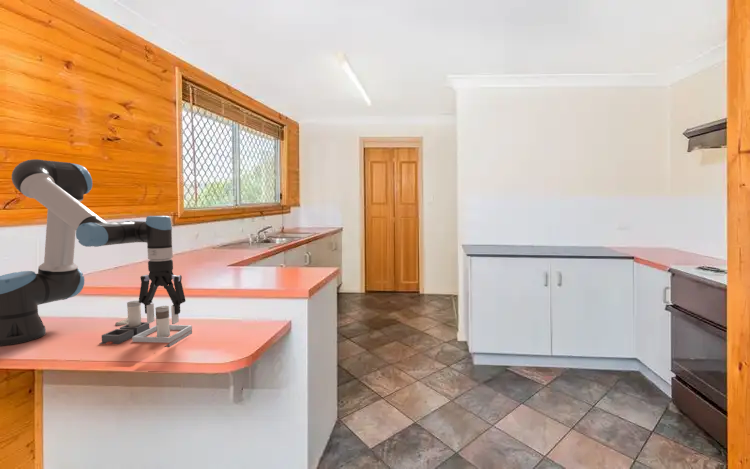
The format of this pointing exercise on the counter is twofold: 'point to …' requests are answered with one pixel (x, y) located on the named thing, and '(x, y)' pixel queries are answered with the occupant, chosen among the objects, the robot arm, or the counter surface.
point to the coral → (122, 322)
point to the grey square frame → (183, 328)
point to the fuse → (134, 313)
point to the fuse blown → (162, 321)
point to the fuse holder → (123, 333)
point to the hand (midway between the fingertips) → (163, 322)
